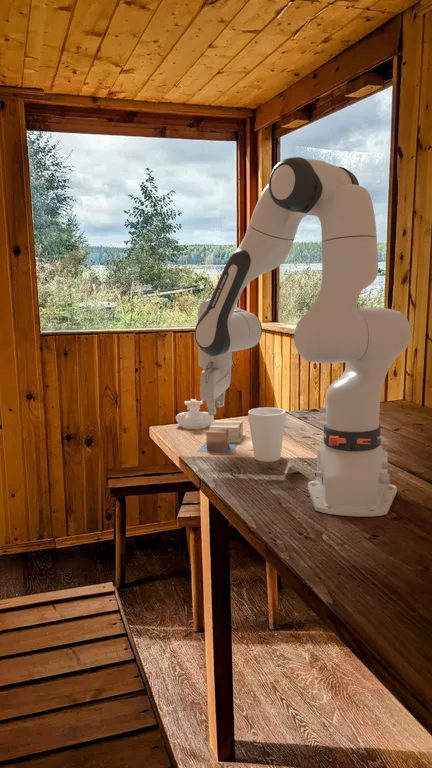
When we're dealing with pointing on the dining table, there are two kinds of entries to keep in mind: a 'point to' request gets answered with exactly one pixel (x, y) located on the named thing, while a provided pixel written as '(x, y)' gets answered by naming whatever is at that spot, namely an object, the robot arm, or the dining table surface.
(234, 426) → the birch slab
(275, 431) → the foam cup
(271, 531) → the dining table surface
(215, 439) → the terracotta block
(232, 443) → the board
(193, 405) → the white figurine
